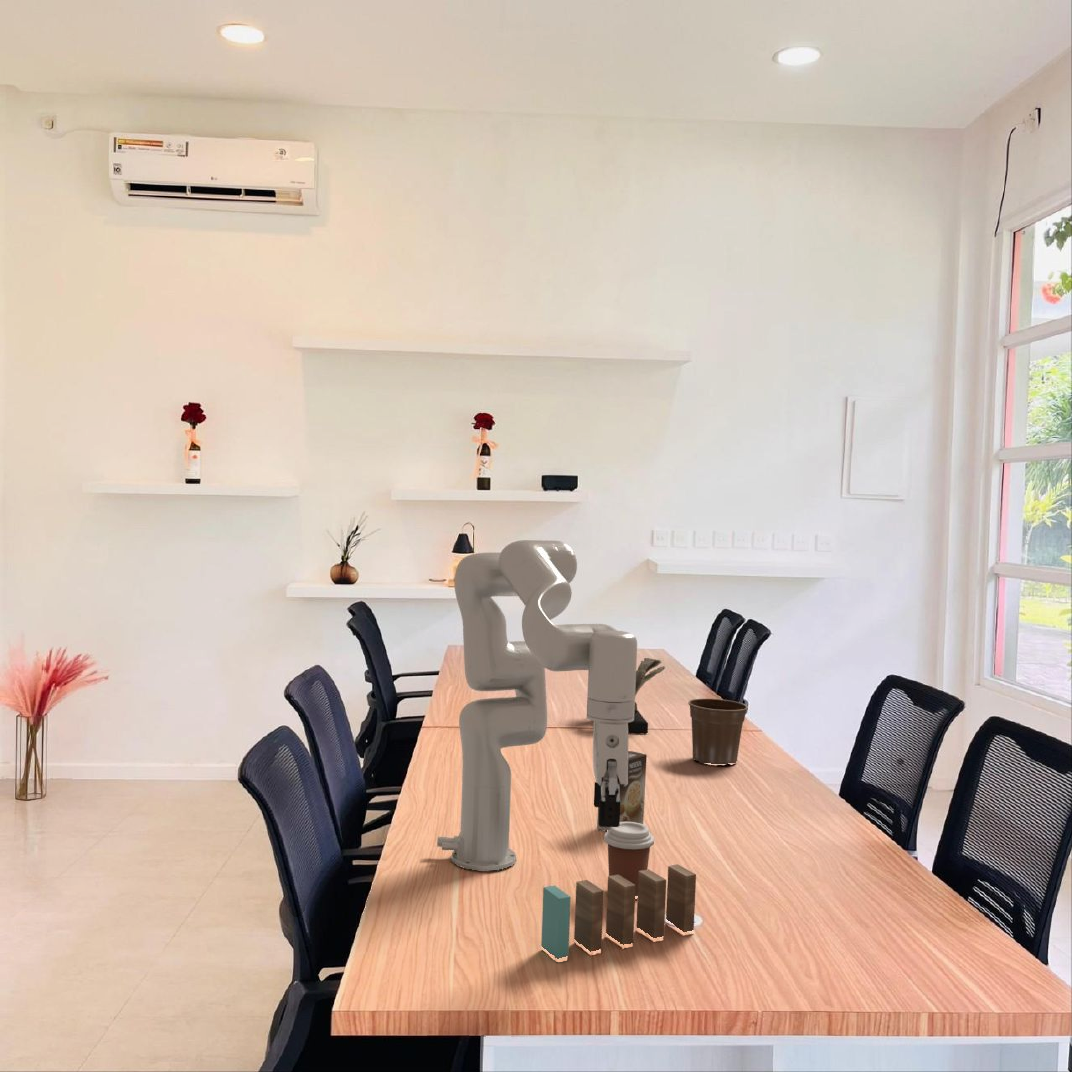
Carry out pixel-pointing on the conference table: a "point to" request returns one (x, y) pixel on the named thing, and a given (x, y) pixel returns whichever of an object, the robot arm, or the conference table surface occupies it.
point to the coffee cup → (628, 850)
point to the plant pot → (716, 729)
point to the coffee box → (632, 791)
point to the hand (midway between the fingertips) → (606, 816)
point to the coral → (639, 722)
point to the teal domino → (555, 921)
